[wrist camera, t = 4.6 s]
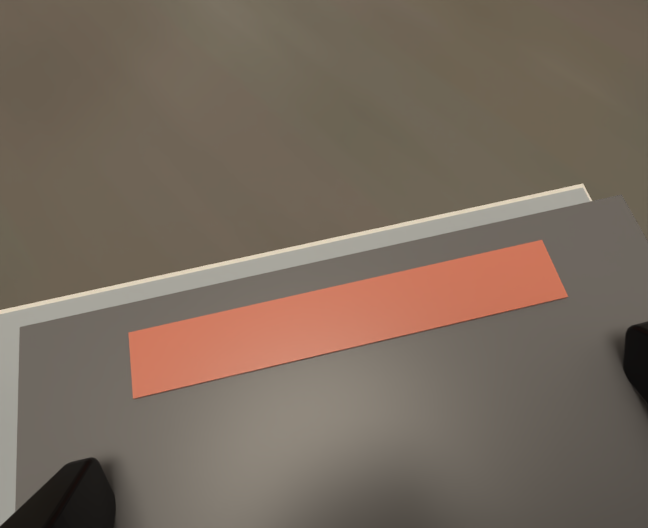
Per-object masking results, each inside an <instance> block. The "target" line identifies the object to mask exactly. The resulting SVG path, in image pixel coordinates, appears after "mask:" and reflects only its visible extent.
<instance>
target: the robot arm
mask: <svg viewBox="0 0 648 528" xmlns="http://www.w3.org/2000/svg"><path fill="white" fill-rule="evenodd" d="M623 369H624V372H625V375H626V377H627V379H628V380H629V382H630V383H631V384H632V386H633V387H634V388H635V389H636V391H637V392H638V393H639V394H640V396H641V397H642V398H643V399H644V401H645V402H646V403H647V404H648V321H647V322H643V323H639V324H635V325H631V326H630V327H628V329H627V330H626V333H625V343H624V356H623ZM115 515H116V502H115V494H114V491H113V489H112V487H111V485H110V483H109V481H108V479H107V477H106V475H105V473H104V470H103V468H102V466H101V464H100V463H99V461H98V460H97V459H96V458H93V457H89V458H85V459H80V460H76V461H72V462H69V463H67V464H66V465H64V466H63V467H62V468H61V469H60V470H59V471H58V472H57V473H56V474H55V475H54V476H53V477H51V478H50V479H49V480H48V481H47V482H46V483H45V484H44V485H43V486H42V487H41V488H40V489H39V490H38V491H37V492H36V493H35V494H34V495H32V496H31V497H30V498H29V499H28V500H27V501H26V502H25V503H24V504H23V505H22V506H21V507H20V508H19V509H18V510H17V511H16V512H14V513H13V514H12V515H11V516H10V517H9V518H8V519H7V520H6V521H5V522H4V523H3V524H2V525H1V526H0V528H114V523H115Z"/></svg>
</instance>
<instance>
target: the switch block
mask: <svg viewBox="0 0 648 528" xmlns="http://www.w3.org/2000/svg"><path fill="white" fill-rule="evenodd" d="M590 201H592V200H591V198H590V196H589V194H588V192H587V190H586V188H585V187H584V185H583V184H579V185H575V186H570V187H566V188H561V189H556V190H552V191H547V192H542V193H538V194H533V195H529V196H524V197H519V198H515V199H510V200H506V201H501V202H496V203H492V204H487V205H483V206H478V207H473V208H469V209H464V210H460V211H455V212H450V213H446V214H441V215H437V216H432V217H427V218H423V219H418V220H413V221H409V222H404V223H400V224H395V225H390V226H386V227H381V228H377V229H372V230H367V231H363V232H358V233H354V234H349V235H344V236H340V237H335V238H331V239H326V240H321V241H317V242H312V243H308V244H303V245H298V246H294V247H289V248H285V249H280V250H275V251H271V252H266V253H261V254H257V255H252V256H248V257H243V258H238V259H234V260H229V261H225V262H220V263H215V264H211V265H206V266H202V267H197V268H192V269H188V270H183V271H179V272H174V273H169V274H165V275H160V276H156V277H151V278H146V279H142V280H137V281H132V282H128V283H123V284H119V285H114V286H109V287H105V288H100V289H96V290H91V291H86V292H82V293H77V294H73V295H68V296H63V297H59V298H54V299H50V300H45V301H40V302H36V303H31V304H27V305H22V306H17V307H13V308H8V309H4V310H0V526H1V525H2V524H3V523H4V522H5V521H6V520H7V519H8V518H9V517H10V516H11V515H12V514H13V513H14V512H15V501H16V459H17V418H18V376H19V335H20V327H22V326H27V325H31V324H36V323H40V322H45V321H50V320H54V319H59V318H63V317H68V316H72V315H77V314H81V313H86V312H90V311H95V310H100V309H104V308H109V307H113V306H118V305H122V304H127V303H131V302H136V301H140V300H145V299H150V298H154V297H159V296H163V295H168V294H172V293H177V292H181V291H186V290H190V289H195V288H199V287H204V286H209V285H213V284H218V283H222V282H227V281H231V280H236V279H240V278H245V277H249V276H254V275H259V274H263V273H268V272H272V271H277V270H281V269H286V268H290V267H295V266H299V265H304V264H309V263H313V262H318V261H322V260H327V259H331V258H336V257H340V256H345V255H349V254H354V253H358V252H363V251H368V250H372V249H377V248H381V247H386V246H390V245H395V244H399V243H404V242H408V241H413V240H418V239H422V238H427V237H431V236H436V235H440V234H445V233H449V232H454V231H458V230H463V229H468V228H472V227H477V226H481V225H486V224H490V223H495V222H499V221H504V220H508V219H513V218H517V217H522V216H527V215H531V214H536V213H540V212H545V211H549V210H554V209H558V208H563V207H567V206H572V205H577V204H581V203H586V202H590Z"/></svg>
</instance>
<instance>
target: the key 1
mask: <svg viewBox="0 0 648 528" xmlns="http://www.w3.org/2000/svg"><path fill="white" fill-rule="evenodd" d="M647 321H648V241H647V239H646V237H645V236H644V234H643V232H642V230H641V229H640V227H639V225H638V223H637V221H636V220H635V218H634V216H633V214H632V212H631V211H630V209H629V207H628V205H627V203H626V202H625V200H624V198H623V196H622V195H617V196H613V197H608V198H604V199H599V200H595V201H590V202H586V203H581V204H577V205H572V206H567V207H563V208H558V209H554V210H549V211H545V212H540V213H536V214H531V215H527V216H522V217H517V218H513V219H508V220H504V221H499V222H495V223H490V224H486V225H481V226H477V227H472V228H468V229H463V230H458V231H454V232H449V233H445V234H440V235H436V236H431V237H427V238H422V239H418V240H413V241H408V242H404V243H399V244H395V245H390V246H386V247H381V248H377V249H372V250H368V251H363V252H358V253H354V254H349V255H345V256H340V257H336V258H331V259H327V260H322V261H318V262H313V263H309V264H304V265H299V266H295V267H290V268H286V269H281V270H277V271H272V272H268V273H263V274H259V275H254V276H249V277H245V278H240V279H236V280H231V281H227V282H222V283H218V284H213V285H209V286H204V287H199V288H195V289H190V290H186V291H181V292H177V293H172V294H168V295H163V296H159V297H154V298H150V299H145V300H140V301H136V302H131V303H127V304H122V305H118V306H113V307H109V308H104V309H100V310H95V311H90V312H86V313H81V314H77V315H72V316H68V317H63V318H59V319H54V320H50V321H45V322H40V323H36V324H31V325H27V326H22V327H20V335H19V376H18V418H17V459H16V501H15V512H16V511H17V510H18V509H19V508H20V507H21V506H22V505H23V504H24V503H25V502H26V501H27V500H28V499H29V498H30V497H31V496H32V495H34V494H35V493H36V492H37V491H38V490H39V489H40V488H41V487H42V486H43V485H44V484H45V483H46V482H47V481H48V480H49V479H50V478H51V477H53V476H54V475H55V474H56V473H57V472H58V471H59V470H60V469H61V468H62V467H63V466H64V465H66V464H67V463H69V462H72V461H76V460H80V459H85V458H89V457H93V458H96V459H97V460H98V461H99V463H100V464H101V466H102V468H103V470H104V473H105V475H106V477H107V479H108V481H109V483H110V485H111V487H112V489H113V491H114V494H115V502H116V515H115V523H114V528H648V404H647V403H646V402H645V401H644V399H643V398H642V397H641V396H640V394H639V393H638V392H637V391H636V389H635V388H634V387H633V386H632V384H631V383H630V382H629V380H628V379H627V377H626V375H625V372H624V369H623V356H624V343H625V333H626V330H627V329H628V327H630V326H631V325H635V324H639V323H643V322H647Z"/></svg>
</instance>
